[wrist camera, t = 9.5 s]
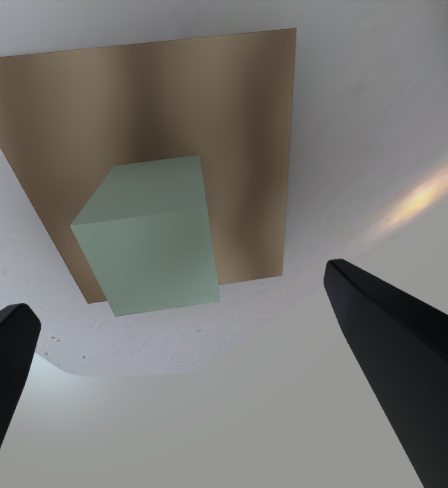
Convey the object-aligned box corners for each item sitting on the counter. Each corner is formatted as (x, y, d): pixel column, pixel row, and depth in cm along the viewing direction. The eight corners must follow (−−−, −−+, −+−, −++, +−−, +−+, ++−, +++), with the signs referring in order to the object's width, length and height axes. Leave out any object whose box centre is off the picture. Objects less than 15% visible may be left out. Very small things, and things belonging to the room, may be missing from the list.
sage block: (199, 154, 15) (207, 207, 10) (209, 227, 18) (220, 300, 12) (114, 165, 15) (69, 225, 9) (138, 236, 18) (115, 316, 12)
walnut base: (283, 32, 14) (296, 27, 12) (275, 260, 23) (282, 275, 22) (-20, 62, 13) (-48, 61, 12) (95, 286, 22) (88, 303, 21)
